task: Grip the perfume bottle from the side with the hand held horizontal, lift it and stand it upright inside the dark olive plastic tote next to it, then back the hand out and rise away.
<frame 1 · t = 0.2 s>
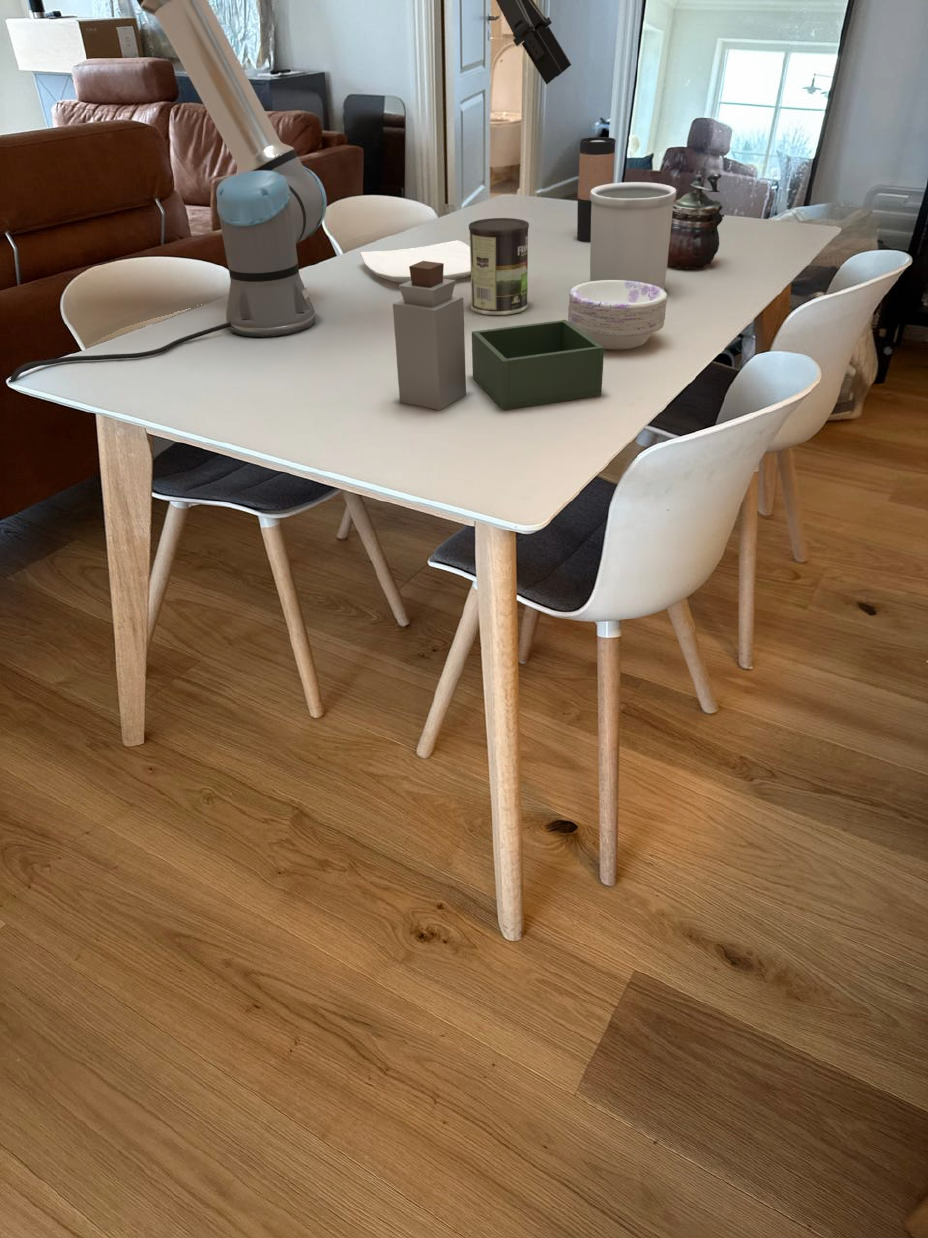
hand: (559, 74, 140), 36 cm above the table, tool tilted 35°, fingers open, 13 cm apart
tote: (535, 386, 130), on the table
coffee grinder: (692, 267, 182), on the table
travel mug: (593, 239, 204), on the table
perfume bottle: (433, 399, 127), on the table
plate: (428, 271, 185), on the table
paper bowls: (614, 342, 145), on the table
utensil holder: (625, 292, 168), on the table
coffee can: (499, 308, 163), on the table
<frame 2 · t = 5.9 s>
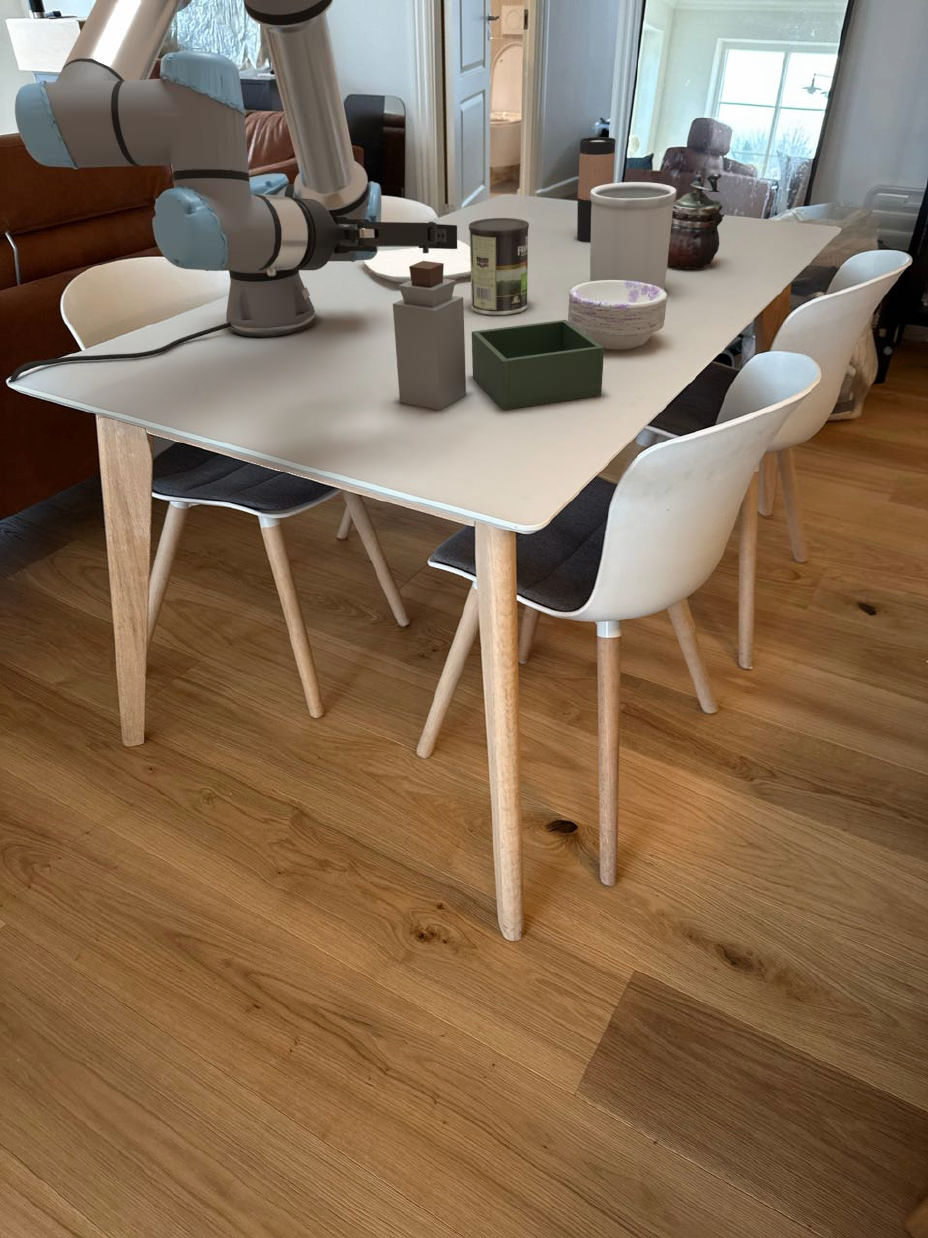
hand: (413, 238, 116), 21 cm above the table, tool horizontal, fingers open, 13 cm apart
nothing on the table moved.
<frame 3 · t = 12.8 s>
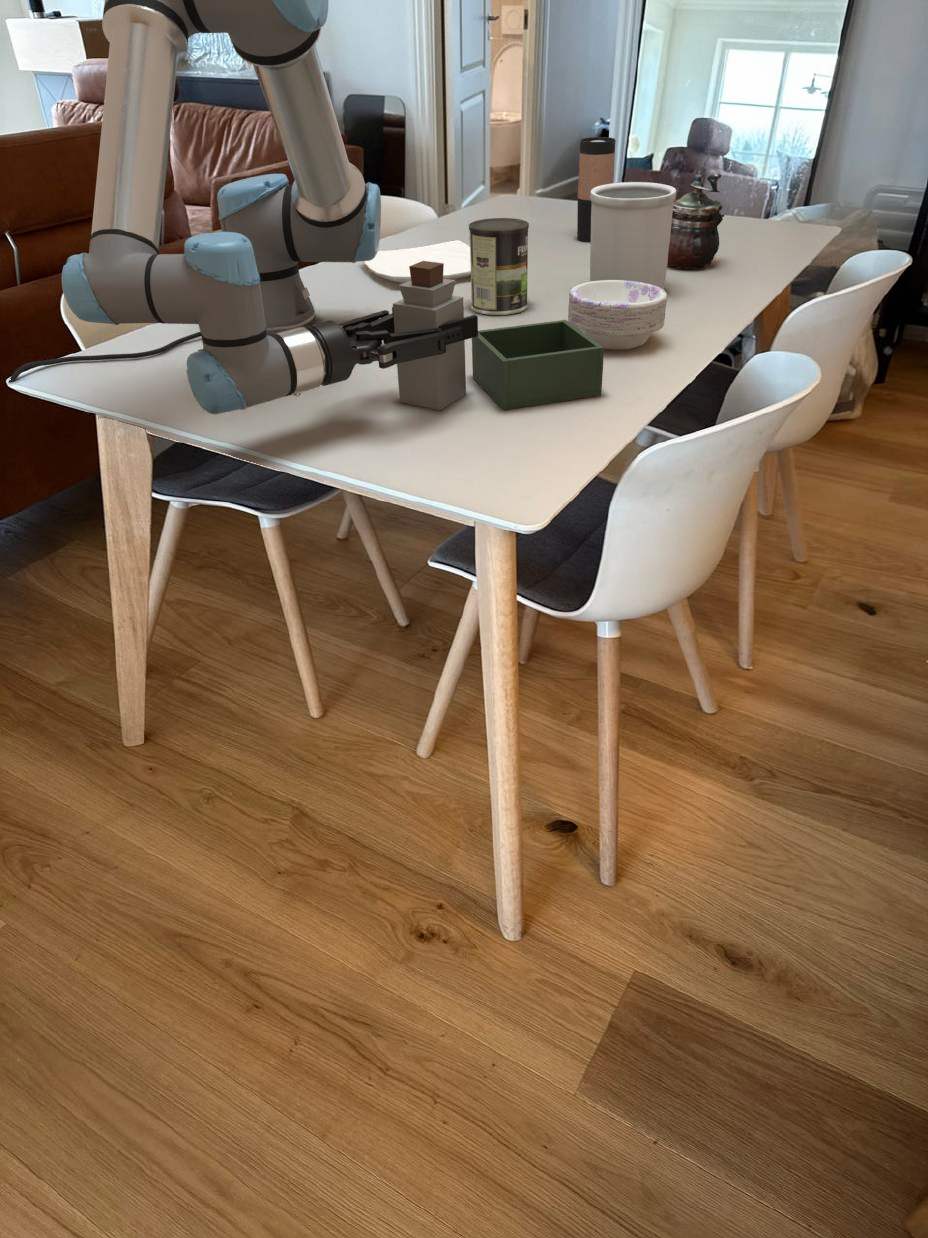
hand: (458, 319, 124), 10 cm above the table, tool horizontal, fingers closed on perfume bottle, 7 cm apart
perfume bottle: (433, 399, 127), on the table, touching gripper
everything else where it was.
when the fingers open (11 cm above the table, at t = 21.6 s): perfume bottle stays where it is, resting on tote.
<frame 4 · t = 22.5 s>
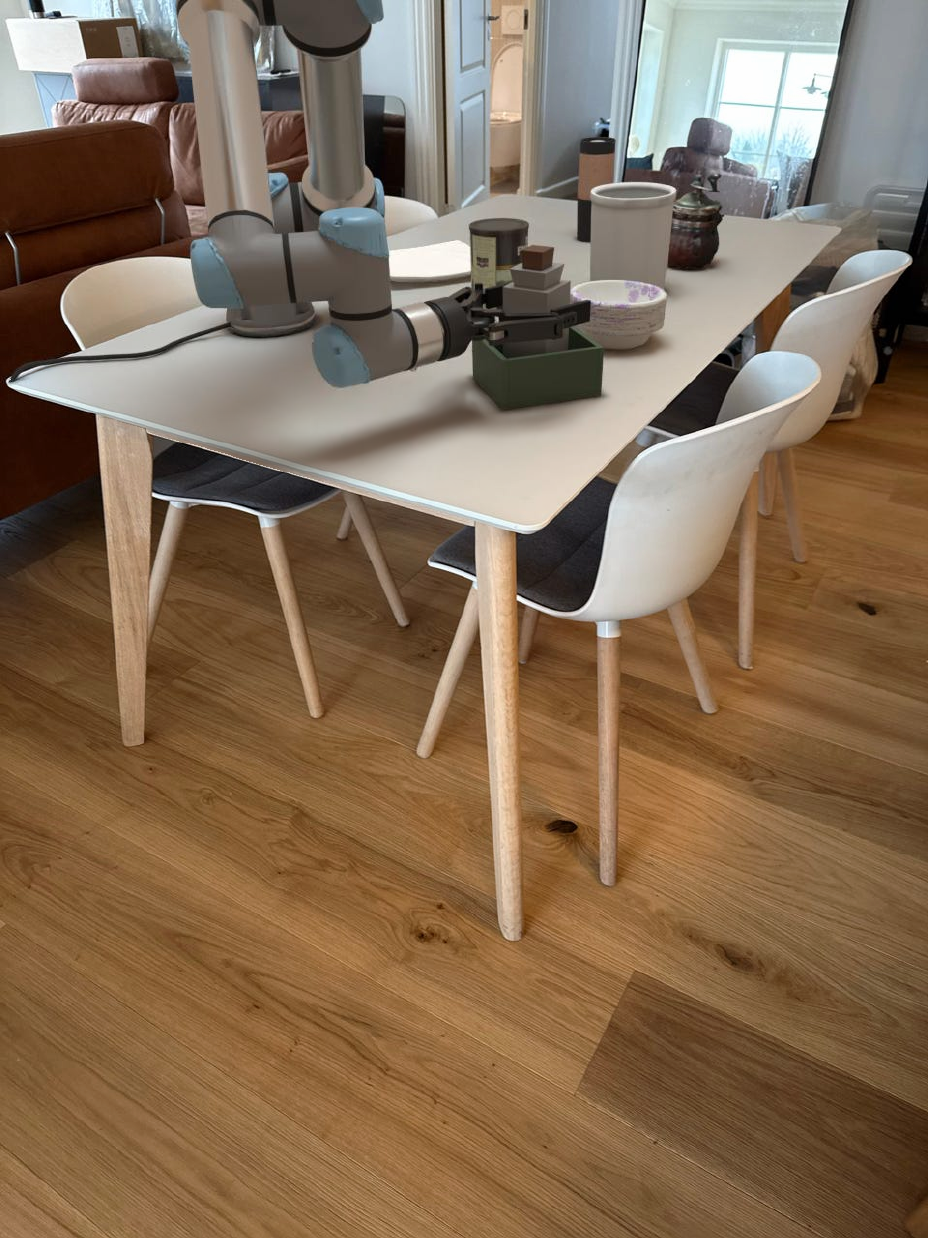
hand: (554, 299, 125), 12 cm above the table, tool horizontal, fingers open, 13 cm apart
perfume bottle: (535, 382, 130), point 1 cm above the table, touching tote
everything else where it was.
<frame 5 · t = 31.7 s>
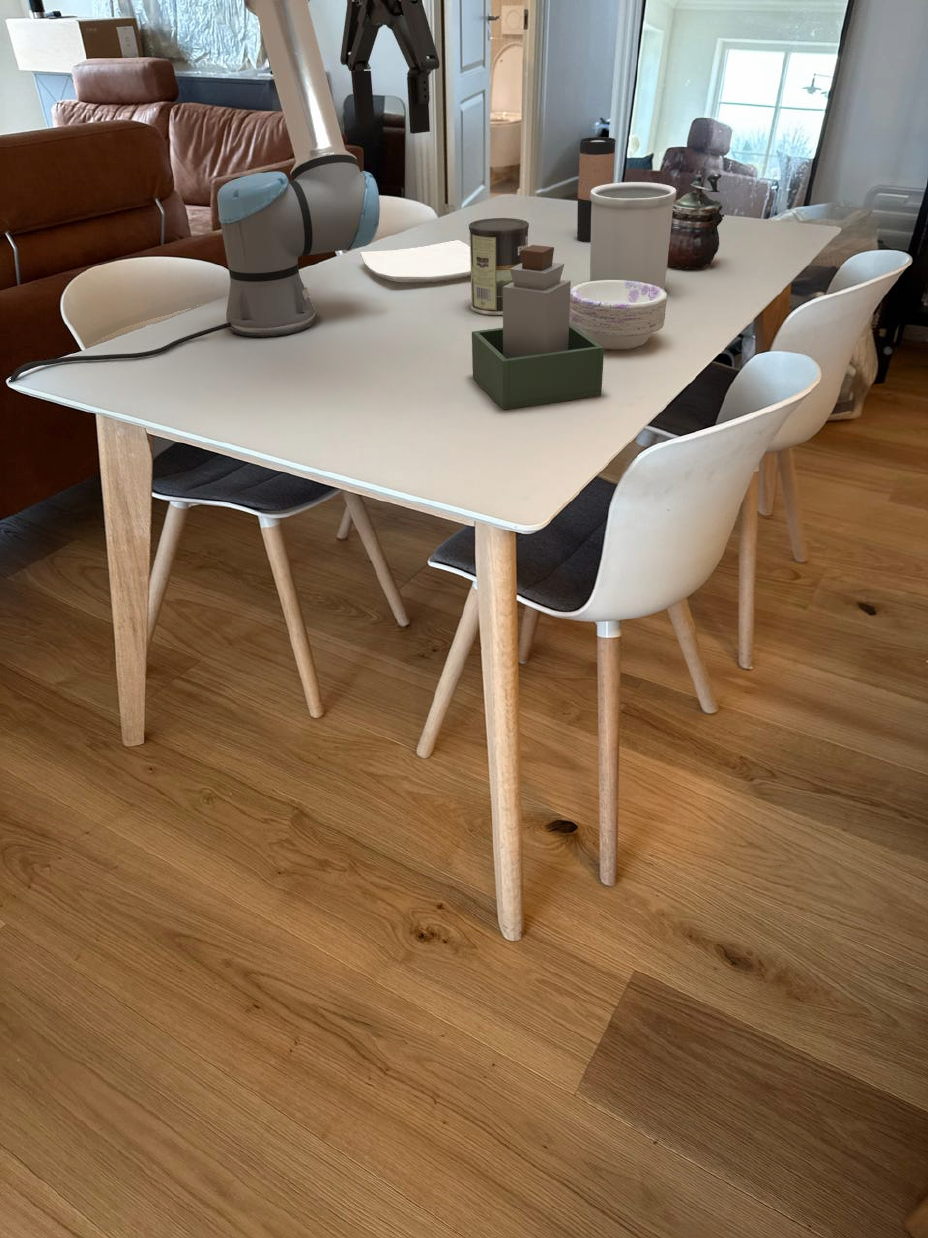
hand: (391, 128, 124), 32 cm above the table, tool pointing down, fingers open, 13 cm apart
nothing on the table moved.
at the end: perfume bottle inside the target area in the tote (0.1 cm from its centre), point 0.6 cm above the tote's base; perfume bottle tilted 0°; the gripper is holding nothing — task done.
